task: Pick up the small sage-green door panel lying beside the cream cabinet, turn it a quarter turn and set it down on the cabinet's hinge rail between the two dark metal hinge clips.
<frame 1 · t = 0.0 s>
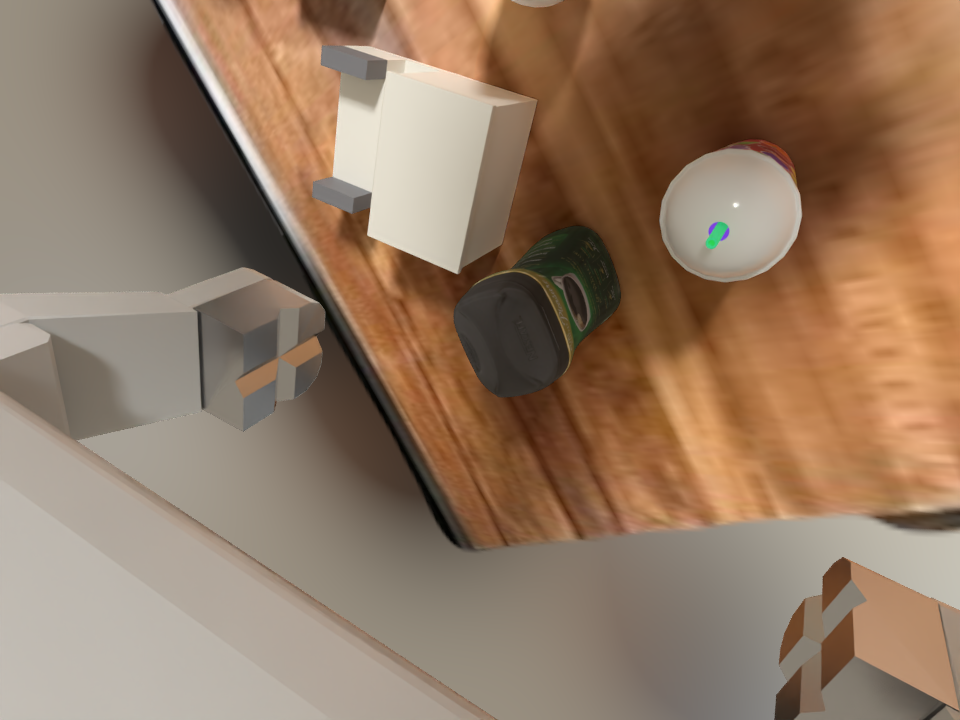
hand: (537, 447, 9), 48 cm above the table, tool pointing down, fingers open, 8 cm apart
smoothie: (750, 181, 50), on the table
cabinet: (447, 150, 61), on the table
coffee jar: (579, 274, 60), on the table
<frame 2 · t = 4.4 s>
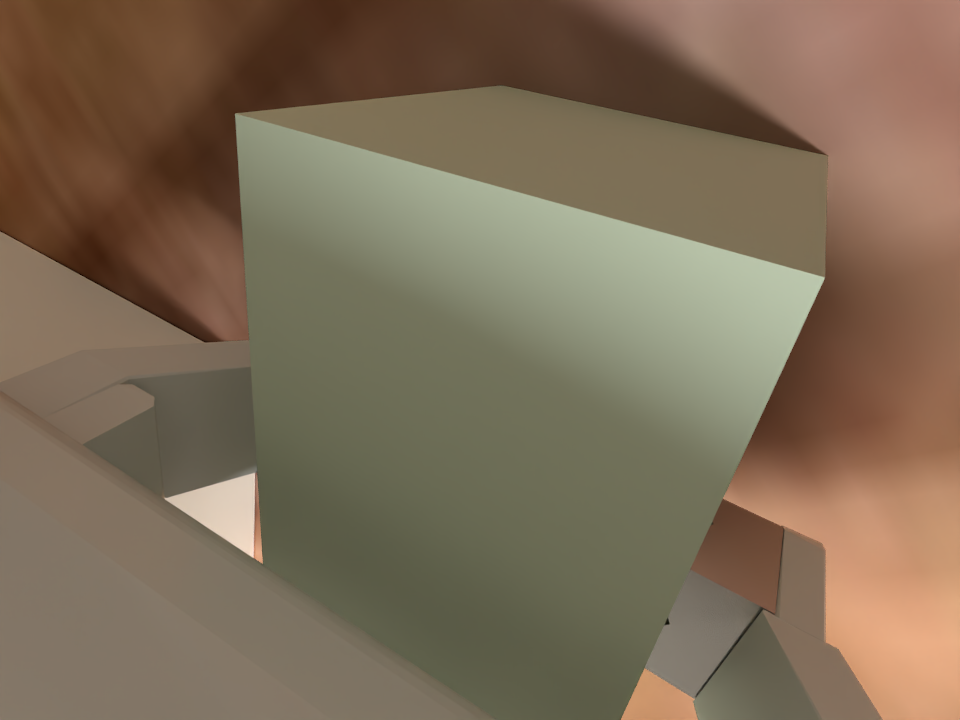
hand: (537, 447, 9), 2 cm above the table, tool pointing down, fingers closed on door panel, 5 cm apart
cabinet: (102, 529, 22), on the table
door panel: (576, 395, 10), on the table, touching gripper
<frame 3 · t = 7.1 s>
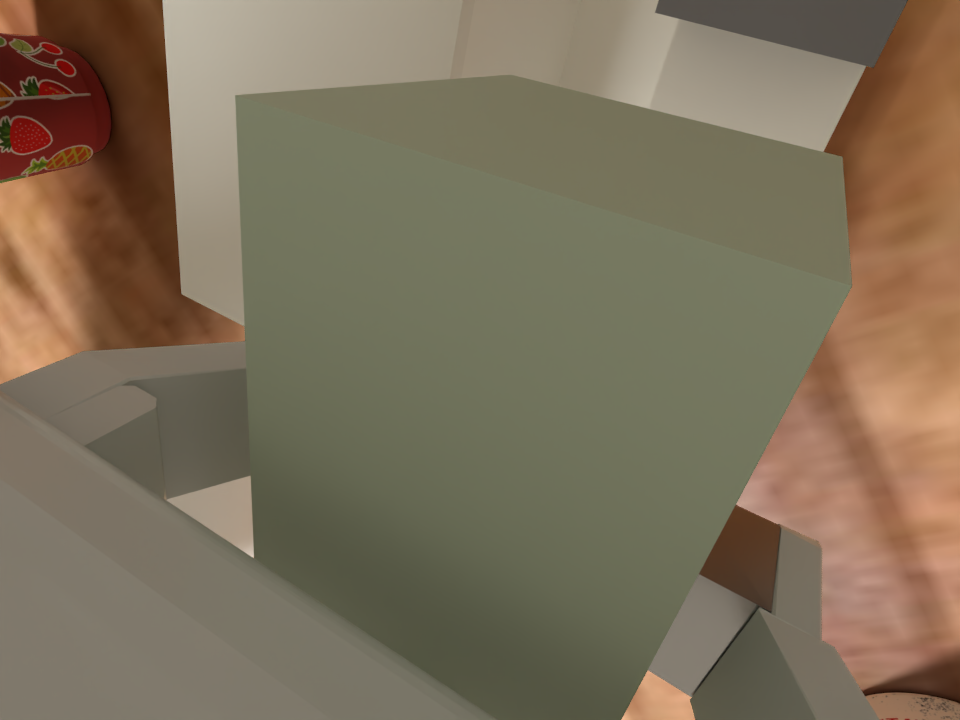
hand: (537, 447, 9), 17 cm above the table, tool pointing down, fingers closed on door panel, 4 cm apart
smoothie: (83, 101, 36), on the table
sauce bottle: (337, 404, 37), on the table
cabinet: (517, 138, 25), on the table
door panel: (576, 393, 10), point 15 cm above the table, touching gripper
when the fingers open (7 cm above the table, at t = 9.3 s): door panel drops 1 cm, resting on cabinet.
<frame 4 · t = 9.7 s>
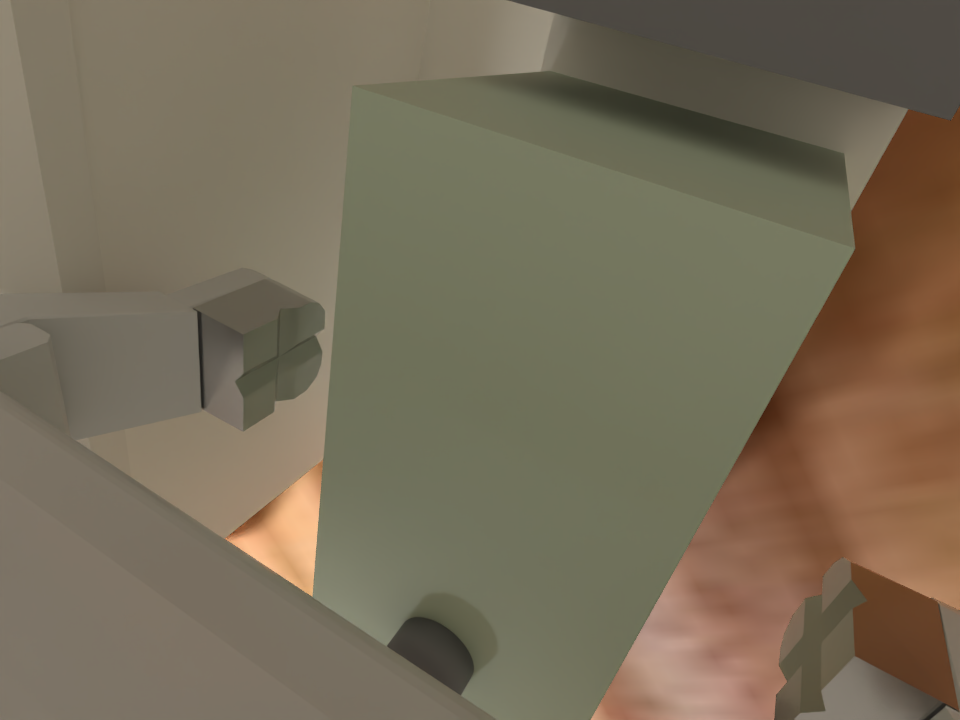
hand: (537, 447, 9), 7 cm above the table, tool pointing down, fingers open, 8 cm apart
cabinet: (374, 186, 17), on the table
door panel: (596, 362, 11), point 4 cm above the table, touching cabinet
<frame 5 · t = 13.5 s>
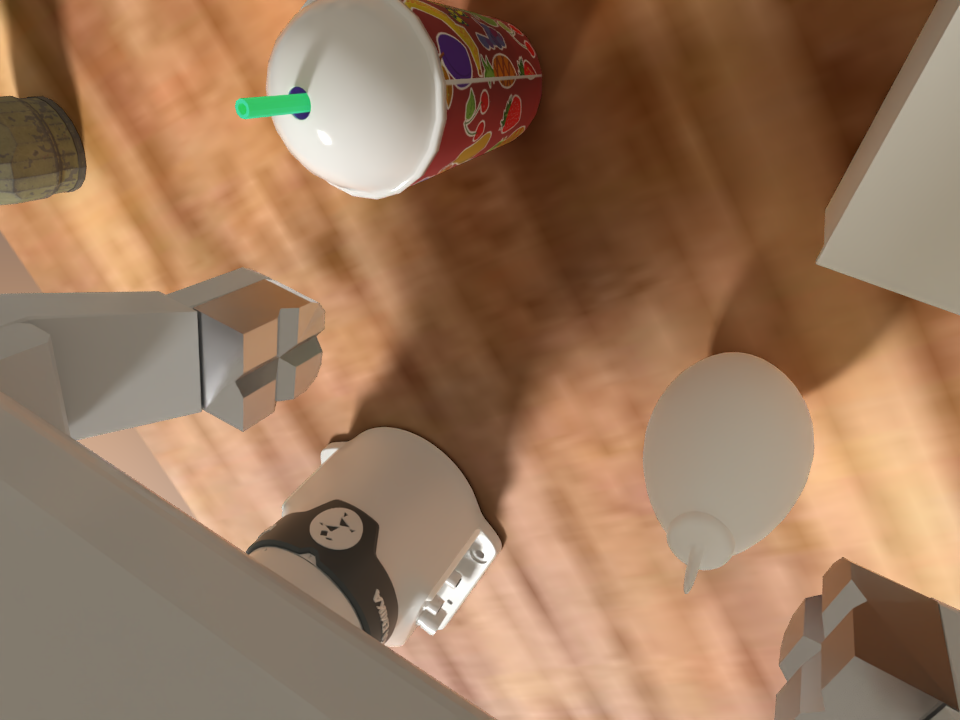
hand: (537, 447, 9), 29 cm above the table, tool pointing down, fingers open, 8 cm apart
smoothie: (499, 83, 37), on the table
sauce bottle: (741, 383, 37), on the table
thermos: (56, 144, 58), on the table
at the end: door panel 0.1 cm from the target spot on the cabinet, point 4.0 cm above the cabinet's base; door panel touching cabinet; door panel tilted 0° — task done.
